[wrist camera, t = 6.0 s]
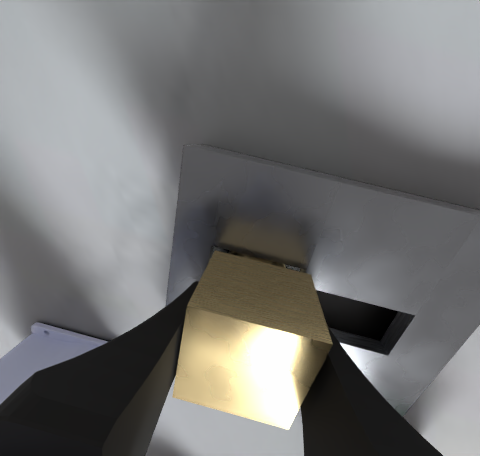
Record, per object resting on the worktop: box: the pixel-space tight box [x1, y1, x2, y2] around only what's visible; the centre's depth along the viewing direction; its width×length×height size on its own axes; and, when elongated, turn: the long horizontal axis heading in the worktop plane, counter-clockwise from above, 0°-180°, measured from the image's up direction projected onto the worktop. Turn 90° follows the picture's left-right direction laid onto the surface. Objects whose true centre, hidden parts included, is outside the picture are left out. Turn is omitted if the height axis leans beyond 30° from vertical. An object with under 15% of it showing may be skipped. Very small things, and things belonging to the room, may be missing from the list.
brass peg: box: [173, 250, 333, 429], centre depth 12 cm, size 5×5×8 cm
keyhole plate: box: [166, 144, 480, 417], centre depth 14 cm, size 16×14×3 cm
